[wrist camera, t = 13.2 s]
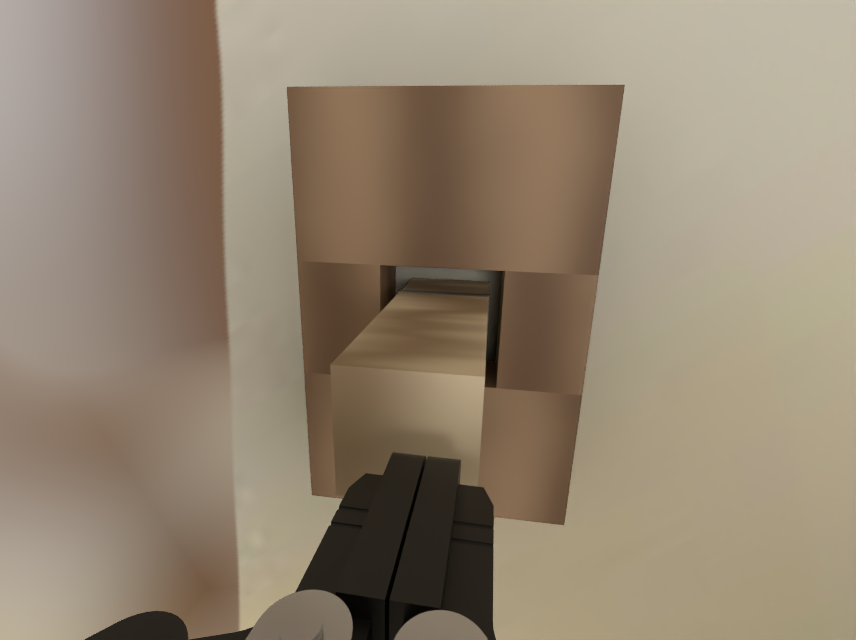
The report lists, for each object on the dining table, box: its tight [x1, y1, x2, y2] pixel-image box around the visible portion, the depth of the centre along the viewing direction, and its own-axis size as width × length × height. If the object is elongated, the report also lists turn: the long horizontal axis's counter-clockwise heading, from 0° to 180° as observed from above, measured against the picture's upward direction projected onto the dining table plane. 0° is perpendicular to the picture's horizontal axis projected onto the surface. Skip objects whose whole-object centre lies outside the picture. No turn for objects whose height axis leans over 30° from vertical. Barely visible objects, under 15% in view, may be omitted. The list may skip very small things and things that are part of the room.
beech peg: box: [330, 278, 490, 496], centre depth 16 cm, size 4×4×11 cm
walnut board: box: [287, 85, 625, 525], centre depth 19 cm, size 12×18×3 cm, turn 178°
